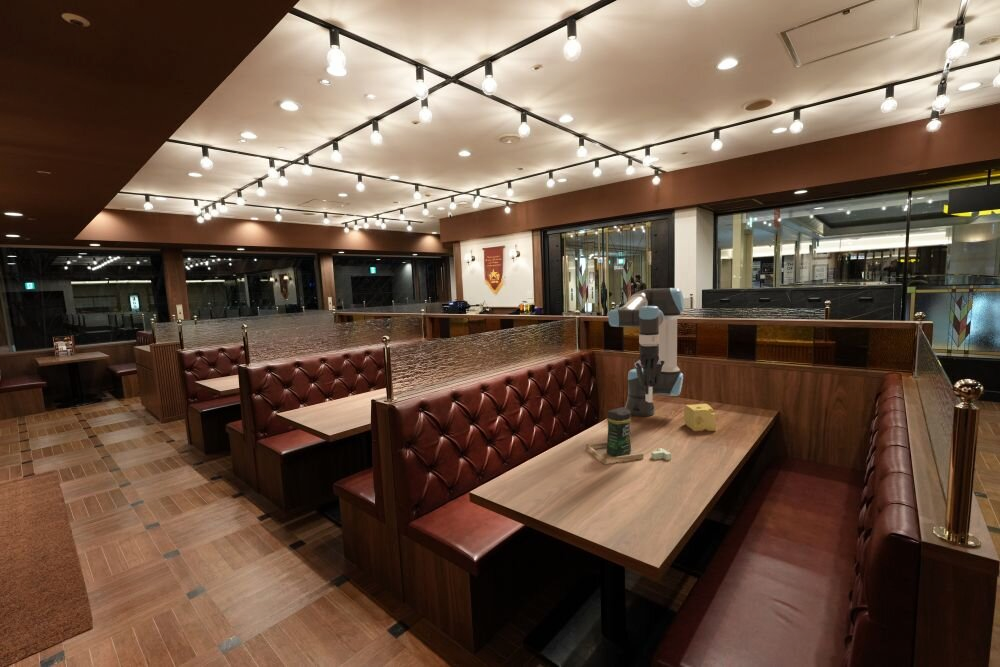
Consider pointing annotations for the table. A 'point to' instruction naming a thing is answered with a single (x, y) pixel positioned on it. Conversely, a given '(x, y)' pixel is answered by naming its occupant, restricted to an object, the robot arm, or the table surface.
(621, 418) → the coffee jar
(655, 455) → the sage T block
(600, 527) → the table surface
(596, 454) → the oak frame
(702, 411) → the cheese
